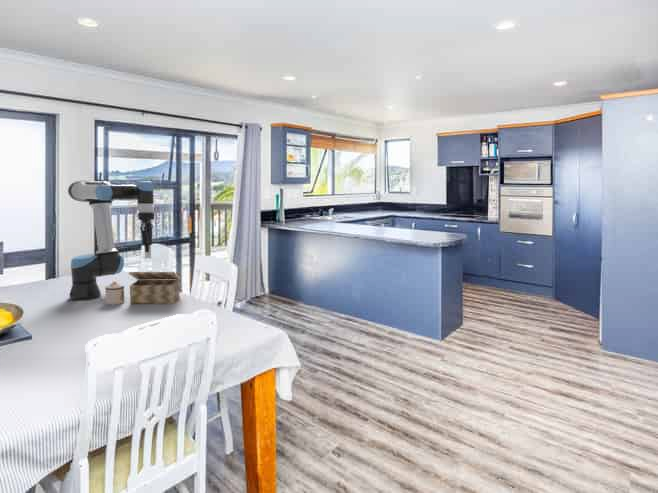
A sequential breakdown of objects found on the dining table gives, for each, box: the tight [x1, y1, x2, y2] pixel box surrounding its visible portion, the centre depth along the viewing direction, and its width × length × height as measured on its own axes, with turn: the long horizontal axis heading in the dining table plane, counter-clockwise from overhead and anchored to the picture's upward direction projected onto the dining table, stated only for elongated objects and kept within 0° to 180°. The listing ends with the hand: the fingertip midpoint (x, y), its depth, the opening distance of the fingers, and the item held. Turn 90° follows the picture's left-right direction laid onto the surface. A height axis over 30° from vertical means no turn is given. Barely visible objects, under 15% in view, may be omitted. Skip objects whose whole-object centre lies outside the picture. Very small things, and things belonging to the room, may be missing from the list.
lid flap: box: [128, 271, 181, 281], centre depth 233 cm, size 23×14×1 cm, turn 97°
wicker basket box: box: [129, 279, 180, 305], centre depth 233 cm, size 22×14×10 cm, turn 97°
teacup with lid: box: [104, 280, 125, 306], centre depth 228 cm, size 12×9×12 cm
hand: (148, 257), depth 219 cm, fingers closed
